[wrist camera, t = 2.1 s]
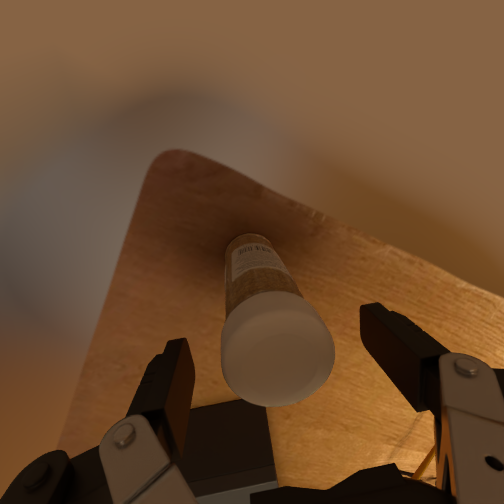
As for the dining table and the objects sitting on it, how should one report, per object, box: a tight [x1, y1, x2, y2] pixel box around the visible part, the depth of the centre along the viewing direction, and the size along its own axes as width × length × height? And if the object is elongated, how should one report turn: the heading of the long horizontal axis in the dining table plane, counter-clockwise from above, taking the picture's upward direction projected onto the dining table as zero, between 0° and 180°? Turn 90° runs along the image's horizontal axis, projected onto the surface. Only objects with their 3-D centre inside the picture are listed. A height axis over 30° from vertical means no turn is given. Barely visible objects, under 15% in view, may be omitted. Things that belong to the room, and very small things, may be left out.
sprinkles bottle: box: [221, 233, 335, 407], centre depth 16 cm, size 5×5×14 cm
